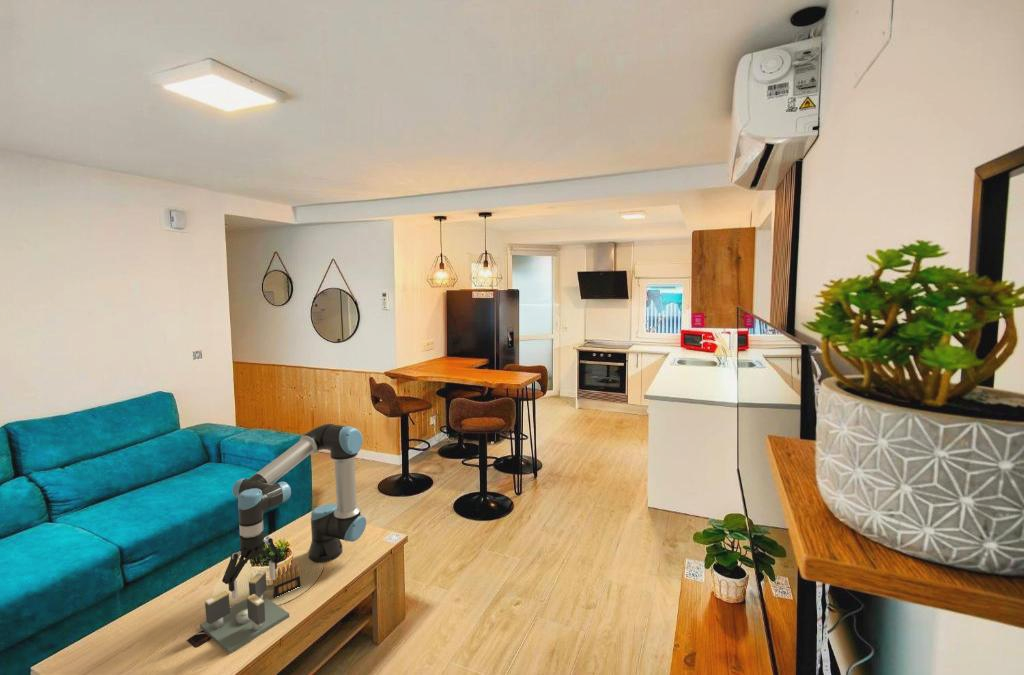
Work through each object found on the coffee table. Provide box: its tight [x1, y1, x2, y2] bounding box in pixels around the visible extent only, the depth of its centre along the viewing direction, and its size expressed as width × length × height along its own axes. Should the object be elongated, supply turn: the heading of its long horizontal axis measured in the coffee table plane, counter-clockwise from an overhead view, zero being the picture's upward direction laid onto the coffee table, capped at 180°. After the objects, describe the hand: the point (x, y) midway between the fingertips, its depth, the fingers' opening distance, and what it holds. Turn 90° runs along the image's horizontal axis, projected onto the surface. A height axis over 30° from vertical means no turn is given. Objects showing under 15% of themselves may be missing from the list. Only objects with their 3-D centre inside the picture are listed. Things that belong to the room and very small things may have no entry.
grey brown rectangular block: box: [248, 570, 268, 600], centre depth 183 cm, size 7×3×12 cm, turn 177°
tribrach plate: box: [199, 594, 290, 655], centre depth 176 cm, size 22×22×4 cm
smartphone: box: [186, 629, 213, 648], centre depth 171 cm, size 7×1×15 cm
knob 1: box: [204, 590, 231, 629], centre depth 171 cm, size 7×3×12 cm, turn 149°
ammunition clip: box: [272, 560, 302, 599], centre depth 193 cm, size 11×2×12 cm, turn 134°
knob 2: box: [246, 594, 265, 631], centre depth 170 cm, size 7×3×12 cm, turn 57°
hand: (254, 587), depth 169 cm, fingers open, 13 cm apart
